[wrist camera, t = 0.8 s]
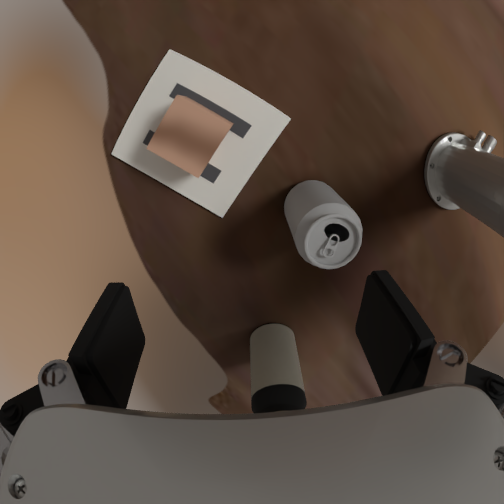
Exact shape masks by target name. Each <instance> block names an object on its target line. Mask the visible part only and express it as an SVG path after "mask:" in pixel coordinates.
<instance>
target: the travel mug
mask: <svg viewBox="0 0 504 504" xmlns="http://www.w3.org/2000/svg"><path fill="white" fill-rule="evenodd" d="M250 365H251V403H252V411H253V413H269V412H282V411H292V410H301V409H305V407H306V397H305V391H304V386H303V380H302V374H301V369H300V364H299V358H298V353H297V347H296V342H295V337H294V333H293V331H292V330H291V329H290V328H288V327H287V326H285V325H281V324H267V325H263V326H261V327H259V328H257V329H256V330H255V331H254V332H253V333H252V335H251V337H250Z"/></svg>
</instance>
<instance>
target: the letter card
mask: <svg viewBox="0 0 504 504" xmlns="http://www.w3.org/2000/svg"><path fill="white" fill-rule="evenodd" d="M177 95H182V96H186V97H188V98H190V99H192V100H194V101H195V102H197V103H199V104H201V105H203V106H204V107H206V108H208V109H210V110H211V111H213V112H215V113H217V114H218V115H220V116H222V117H224V118H225V119H227V120H229V121H230V122H232V123H234V124H233V126H232V127H231V128H230V130H229V132H228V133H227V135H226V136H225V138H224V139H223V141H222V142H221V144H220V145H219V147H218V148H217V150H216V151H215V153H214V155H213V156H212V158H211V159H210V161H209V163H208V164H207V166H206V167H205V169H204V171H203V172H202V174H201V175H200V177H199V178H197V177H195V176H193V175H192V174H190V173H188V172H186V171H185V170H183V169H181V168H179V167H178V166H176V165H174V164H172V163H171V162H169V161H167V160H165V159H164V158H162V157H160V156H158V155H157V154H155V153H153V152H151V151H149V150H148V149H146V148H147V146H148V144H149V142H150V141H151V139H152V137H153V135H154V133H155V131H156V130H157V128H158V126H159V124H160V122H161V121H162V119H163V117H164V115H165V114H166V112H167V110H168V109H169V107H170V105H171V104H172V102H173V100H174V99H175V97H176V96H177ZM290 120H291V118H289V117H288V116H287V115H285V114H284V113H282V112H281V111H279V110H278V109H276V108H275V107H273V106H271V105H270V104H268V103H267V102H265V101H264V100H262V99H261V98H259V97H257V96H256V95H254V94H252V93H251V92H249V91H248V90H246V89H244V88H242V87H241V86H239V85H237V84H236V83H234V82H232V81H230V80H229V79H227V78H225V77H223V76H222V75H220V74H218V73H216V72H214V71H212V70H211V69H209V68H207V67H205V66H203V65H201V64H199V63H197V62H195V61H193V60H191V59H189V58H187V57H185V56H183V55H181V54H179V53H177V52H175V51H172V50H170V49H169V51H168V52H167V54H166V55H165V57H164V58H163V60H162V61H161V63H160V65H159V66H158V68H157V69H156V71H155V72H154V74H153V76H152V77H151V79H150V81H149V82H148V84H147V86H146V87H145V89H144V91H143V93H142V94H141V96H140V98H139V100H138V101H137V103H136V105H135V107H134V109H133V111H132V112H131V114H130V116H129V118H128V120H127V122H126V124H125V126H124V128H123V130H122V132H121V134H120V136H119V138H118V140H117V143H116V145H115V147H114V149H113V151H112V153H111V154H112V155H113V156H115V157H117V158H119V159H121V160H122V161H124V162H126V163H128V164H129V165H131V166H133V167H135V168H136V169H138V170H140V171H142V172H144V173H145V174H147V175H149V176H151V177H152V178H154V179H156V180H158V181H159V182H161V183H163V184H165V185H166V186H168V187H170V188H172V189H173V190H175V191H177V192H178V193H180V194H182V195H184V196H185V197H187V198H189V199H191V200H192V201H194V202H196V203H198V204H199V205H201V206H203V207H204V208H206V209H208V210H210V211H211V212H213V213H215V214H216V215H218V216H220V217H222V218H223V216H224V215H225V213H226V212H227V210H228V209H229V207H230V206H231V204H232V203H233V201H234V200H235V198H236V197H237V195H238V194H239V192H240V191H241V189H242V188H243V186H244V185H245V184H246V182H247V181H248V179H249V178H250V176H251V175H252V173H253V172H254V170H255V169H256V167H257V166H258V165H259V163H260V162H261V160H262V159H263V157H264V156H265V155H266V153H267V152H268V150H269V149H270V147H271V146H272V145H273V143H274V142H275V140H276V139H277V138H278V136H279V135H280V133H281V132H282V131H283V129H284V128H285V126H286V125H287V124H288V122H289V121H290Z"/></svg>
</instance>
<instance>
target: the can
mask: <svg viewBox="0 0 504 504" xmlns="http://www.w3.org/2000/svg"><path fill="white" fill-rule="evenodd" d="M284 213H285V216H286V219H287V222H288V225H289V227H290V230H291V233H292V236H293V239H294V242H295V245H296V247H297V250H298V252H299V254H300V255H301V257H302V258H303V259H304V260H305V261H306V262H308V263H310V264H312V265H314V266H317V267H319V268H323V269H336V268H339V267H341V266H344V265H346V264H347V263H349V262H350V261H351V260H352V259H353V258H354V257H355V256H356V254H357V253H358V251H359V249H360V246H361V242H362V230H363V228H362V225H361V221H360V218H359V217H358V216H357V214H356V213H355V211H354V210H353V209H352V208H351V207H350V206H349V205H348V204H347V203H346V202H345V201H344V200H343V199H342V198H341V197H340V196H339V195H338V194H337V193H336V192H335V191H334V190H333V189H332V188H331V187H330V186H328V185H327V184H325V183H324V182H320V181H317V180H309V181H304V182H302V183H299V184H297V185H296V186H295V187H294V188H292V189H291V190H290V192H289V193H288V195H287V196H286V200H285V203H284Z"/></svg>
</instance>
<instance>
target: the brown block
mask: <svg viewBox="0 0 504 504" xmlns="http://www.w3.org/2000/svg"><path fill="white" fill-rule="evenodd" d="M233 124H234V123H232V122H230V121H229V120H227V119H225V118H224V117H222V116H220V115H218V114H217V113H215V112H213V111H211V110H210V109H208V108H206V107H204V106H203V105H201V104H199V103H197V102H195V101H194V100H192V99H190V98H188V97H186V96H182V95H177V96H176V97H175V99H174V100H173V102H172V104H171V105H170V107H169V109H168V110H167V112H166V114H165V115H164V117H163V119H162V121H161V122H160V124H159V126H158V128H157V130H156V131H155V133H154V135H153V137H152V139H151V141H150V142H149V144H148V146H147V148H146V149H148V150H149V151H151V152H153V153H155V154H157V155H158V156H160V157H162V158H164V159H165V160H167V161H169V162H171V163H172V164H174V165H176V166H178V167H179V168H181V169H183V170H185V171H186V172H188V173H190V174H192V175H193V176H195V177H197V178H199V177H200V175H201V174H202V172H203V171H204V169H205V167H206V166H207V164H208V163H209V161H210V159H211V158H212V156H213V155H214V153H215V151H216V150H217V148H218V147H219V145H220V144H221V142H222V141H223V139H224V138H225V136H226V135H227V133H228V132H229V130H230V128H231V127H232V126H233Z"/></svg>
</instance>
